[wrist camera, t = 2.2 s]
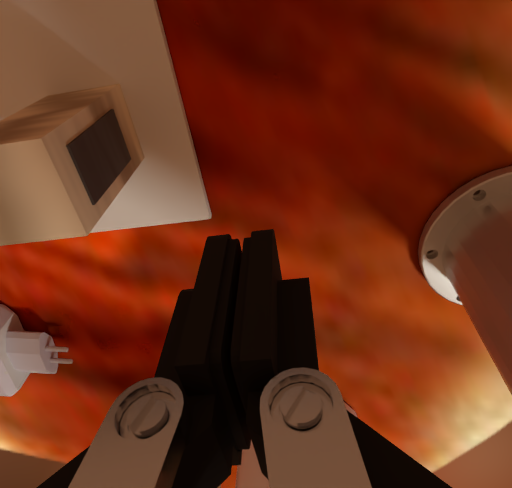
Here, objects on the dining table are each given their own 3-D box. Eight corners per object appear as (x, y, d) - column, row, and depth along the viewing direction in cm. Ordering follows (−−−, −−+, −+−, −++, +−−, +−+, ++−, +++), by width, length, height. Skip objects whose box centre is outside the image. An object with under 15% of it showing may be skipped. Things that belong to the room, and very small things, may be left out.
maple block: (122, 83, 25) (44, 137, 17) (146, 157, 28) (90, 235, 20) (47, 95, 26) (-62, 153, 18) (78, 166, 29) (-4, 246, 20)
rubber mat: (148, -32, 22) (144, -32, 22) (211, 214, 31) (210, 218, 30) (-209, 42, 25) (-219, 43, 25) (-59, 246, 34) (-64, 250, 34)
